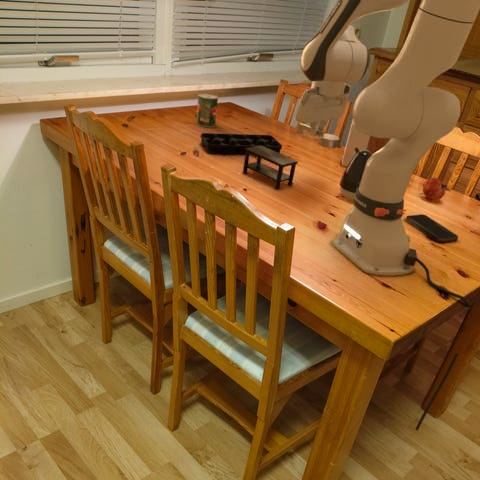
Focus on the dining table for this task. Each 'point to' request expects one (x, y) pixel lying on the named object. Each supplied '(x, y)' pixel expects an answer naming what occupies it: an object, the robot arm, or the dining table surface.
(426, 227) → the phone
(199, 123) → the canned tomato
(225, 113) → the dining table surface
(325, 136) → the ladle
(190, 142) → the dining table surface
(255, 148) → the rack
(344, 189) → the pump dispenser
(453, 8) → the robot arm
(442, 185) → the pomegranate
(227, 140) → the egg carton
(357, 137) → the milk carton
